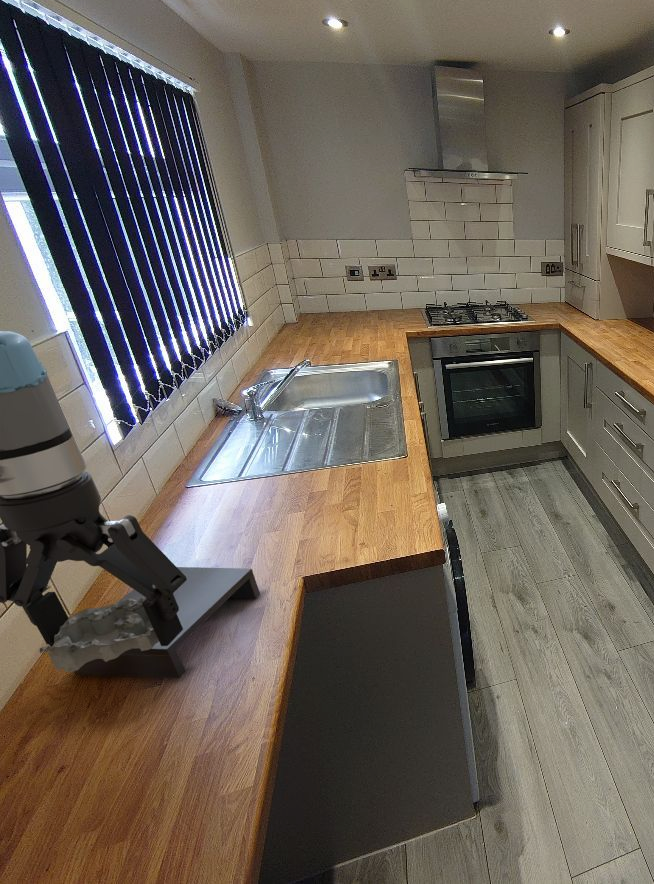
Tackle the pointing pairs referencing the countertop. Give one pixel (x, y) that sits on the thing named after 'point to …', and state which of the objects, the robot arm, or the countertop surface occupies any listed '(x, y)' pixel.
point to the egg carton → (101, 634)
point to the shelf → (195, 607)
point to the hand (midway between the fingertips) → (118, 640)
